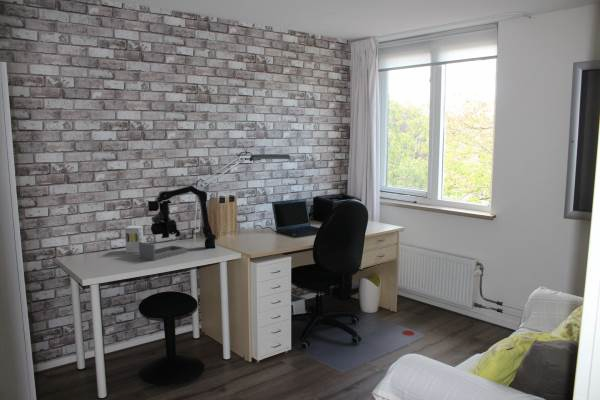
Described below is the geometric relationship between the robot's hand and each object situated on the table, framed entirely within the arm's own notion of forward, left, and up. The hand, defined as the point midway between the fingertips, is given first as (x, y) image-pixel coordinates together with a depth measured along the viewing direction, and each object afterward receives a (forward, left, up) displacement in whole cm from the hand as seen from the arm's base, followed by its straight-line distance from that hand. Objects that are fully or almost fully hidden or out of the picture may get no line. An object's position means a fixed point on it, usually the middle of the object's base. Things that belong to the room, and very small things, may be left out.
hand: (165, 233), depth 325 cm
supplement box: (+21, -9, -13) cm, 26 cm away
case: (0, +6, -13) cm, 14 cm away
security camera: (-1, 0, -3) cm, 3 cm away
